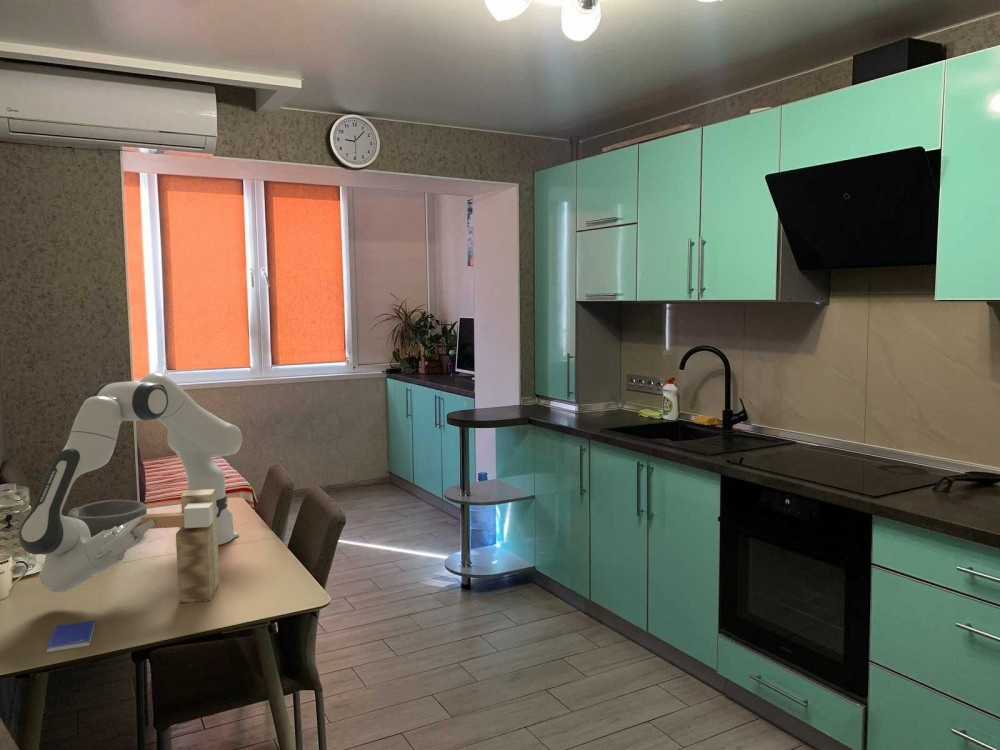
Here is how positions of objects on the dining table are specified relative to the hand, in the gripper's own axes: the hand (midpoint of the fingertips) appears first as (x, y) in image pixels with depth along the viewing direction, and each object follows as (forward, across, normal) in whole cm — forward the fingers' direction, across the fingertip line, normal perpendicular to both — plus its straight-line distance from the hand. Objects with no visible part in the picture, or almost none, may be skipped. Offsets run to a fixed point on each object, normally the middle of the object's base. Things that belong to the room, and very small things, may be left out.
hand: (156, 519), depth 190 cm
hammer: (+3, 0, +4) cm, 5 cm away
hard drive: (-23, -19, +12) cm, 33 cm away
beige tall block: (-3, +4, +23) cm, 23 cm away
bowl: (-37, +62, +3) cm, 72 cm away
